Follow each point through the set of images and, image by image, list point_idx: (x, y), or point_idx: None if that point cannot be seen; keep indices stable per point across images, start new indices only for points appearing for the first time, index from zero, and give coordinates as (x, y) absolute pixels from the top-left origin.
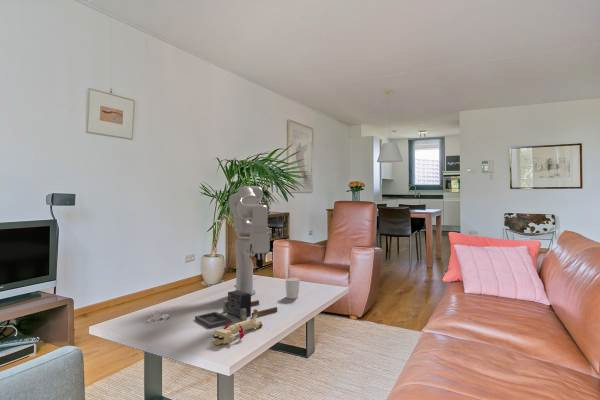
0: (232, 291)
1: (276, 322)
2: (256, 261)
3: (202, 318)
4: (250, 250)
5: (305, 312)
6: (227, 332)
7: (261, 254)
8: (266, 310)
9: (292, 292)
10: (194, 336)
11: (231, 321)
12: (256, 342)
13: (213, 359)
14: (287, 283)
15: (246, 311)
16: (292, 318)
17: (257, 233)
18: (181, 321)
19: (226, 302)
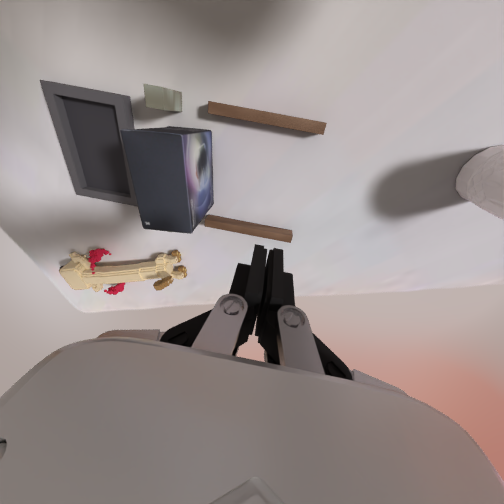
0: (142, 141)
1: (227, 277)
2: (231, 288)
3: (63, 127)
4: (88, 370)
5: (325, 290)
6: (80, 289)
7: (304, 363)
8: (250, 234)
9: (473, 199)
10: (41, 203)
11: None
12: (142, 301)
13: (64, 291)
14: None
15: None
16: None
17: None
18: (2, 56)
19: (152, 107)
